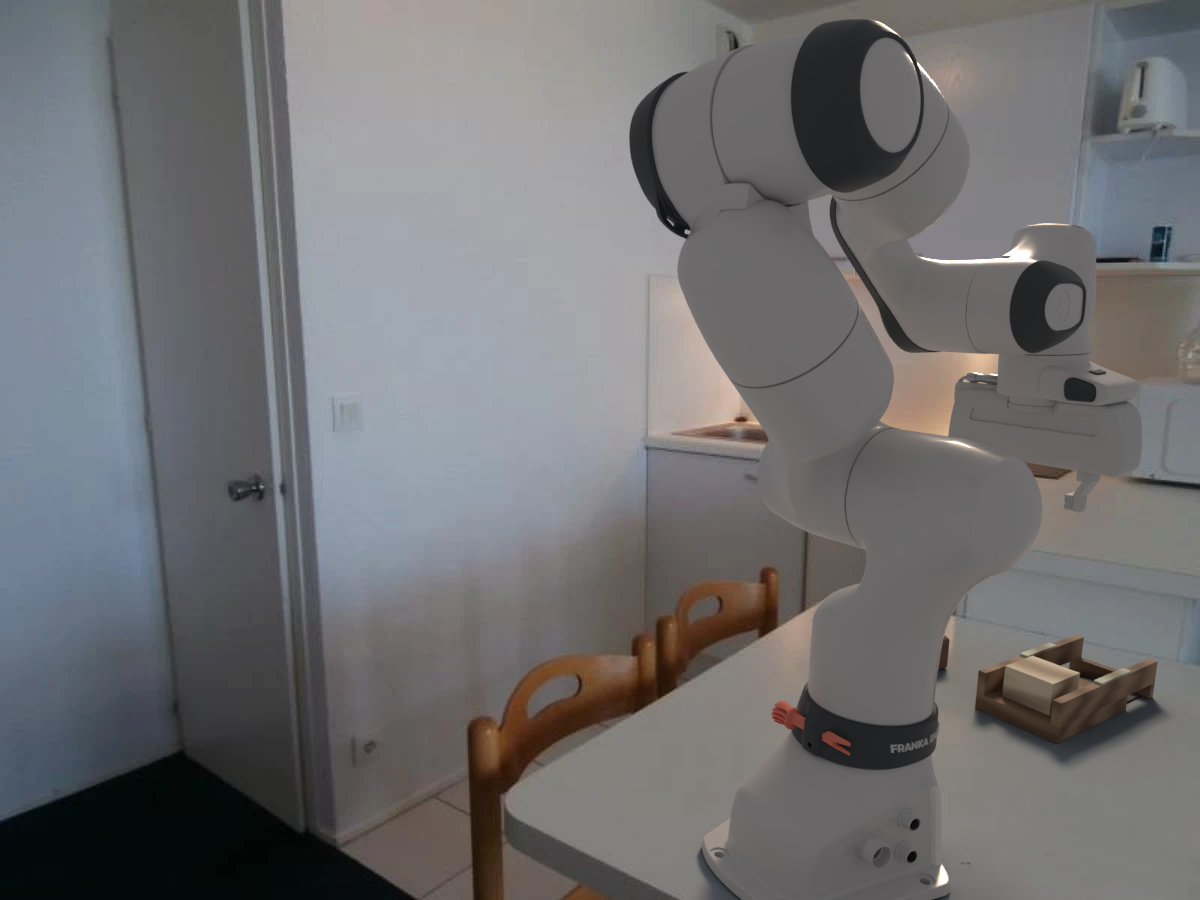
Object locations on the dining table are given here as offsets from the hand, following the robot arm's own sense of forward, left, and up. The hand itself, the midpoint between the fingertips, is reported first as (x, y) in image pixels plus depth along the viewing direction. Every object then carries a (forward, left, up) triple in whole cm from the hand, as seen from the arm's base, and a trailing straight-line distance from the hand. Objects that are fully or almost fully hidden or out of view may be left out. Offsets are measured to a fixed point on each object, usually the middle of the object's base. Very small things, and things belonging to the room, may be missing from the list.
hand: (1032, 501), depth 95 cm
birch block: (+8, +1, -26) cm, 28 cm away
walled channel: (+15, +1, -28) cm, 32 cm away
